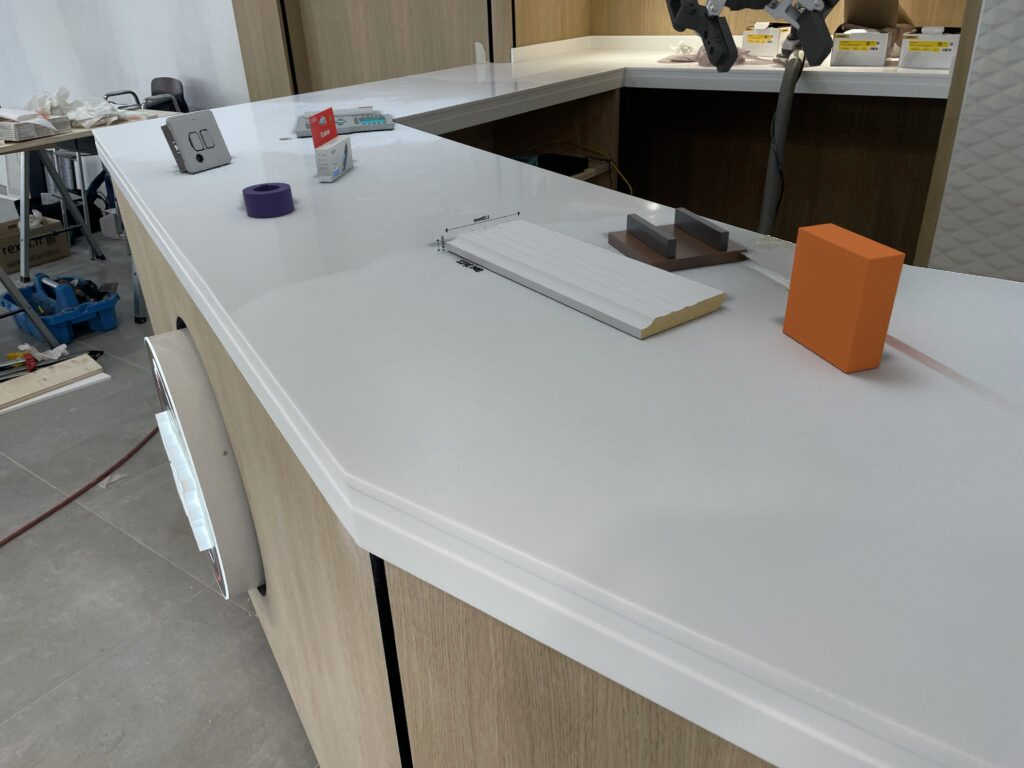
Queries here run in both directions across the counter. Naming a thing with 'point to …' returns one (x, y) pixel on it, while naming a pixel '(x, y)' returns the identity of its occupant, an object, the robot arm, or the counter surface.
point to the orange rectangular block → (842, 295)
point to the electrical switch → (196, 141)
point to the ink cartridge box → (330, 147)
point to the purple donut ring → (268, 200)
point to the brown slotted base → (676, 242)
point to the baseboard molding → (587, 276)
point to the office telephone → (349, 121)
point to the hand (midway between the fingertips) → (776, 62)
